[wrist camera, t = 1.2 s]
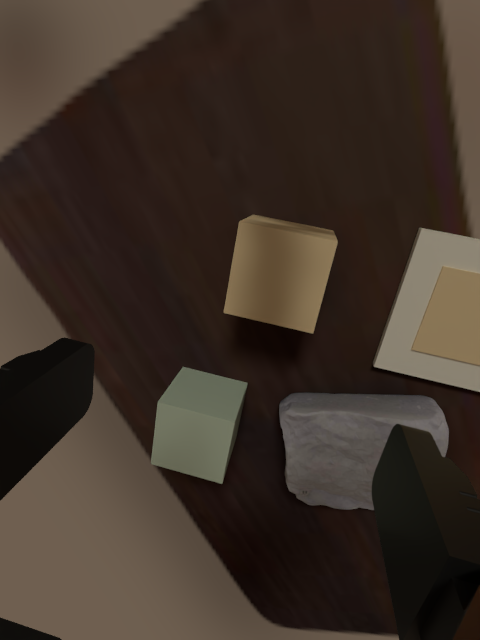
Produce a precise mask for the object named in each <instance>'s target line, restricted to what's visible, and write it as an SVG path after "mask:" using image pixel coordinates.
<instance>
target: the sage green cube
mask: <svg viewBox="0 0 480 640" xmlns="http://www.w3.org/2000/svg"><path fill="white" fill-rule="evenodd" d="M247 384H248V383H245V382H241V381H237V380H233V379H229V378H225V377H221V376H217V375H213V374H209V373H205V372H201V371H197V370H194V369H190V368H186V367H183V368H182V369H181V370H180V372H179V373H178V375H177V376H176V377H175V379H174V380H173V382H172V383H171V384H170V386H169V387H168V388H167V390H166V391H165V393H164V394H163V395H162V397H161V398H160V400H159V401H158V405H157V414H156V423H155V432H154V441H153V450H152V459H151V464H153V465H157V466H160V467H164V468H167V469H171V470H174V471H178V472H181V473H185V474H189V475H192V476H196V477H199V478H203V479H206V480H210V481H213V482H217V483H220V484H222V483H223V480H224V476H225V473H226V470H227V466H228V463H229V460H230V457H231V453H232V450H233V447H234V444H235V440H236V437H237V432H238V427H239V422H240V418H241V413H242V408H243V403H244V399H245V394H246V389H247Z"/></svg>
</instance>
